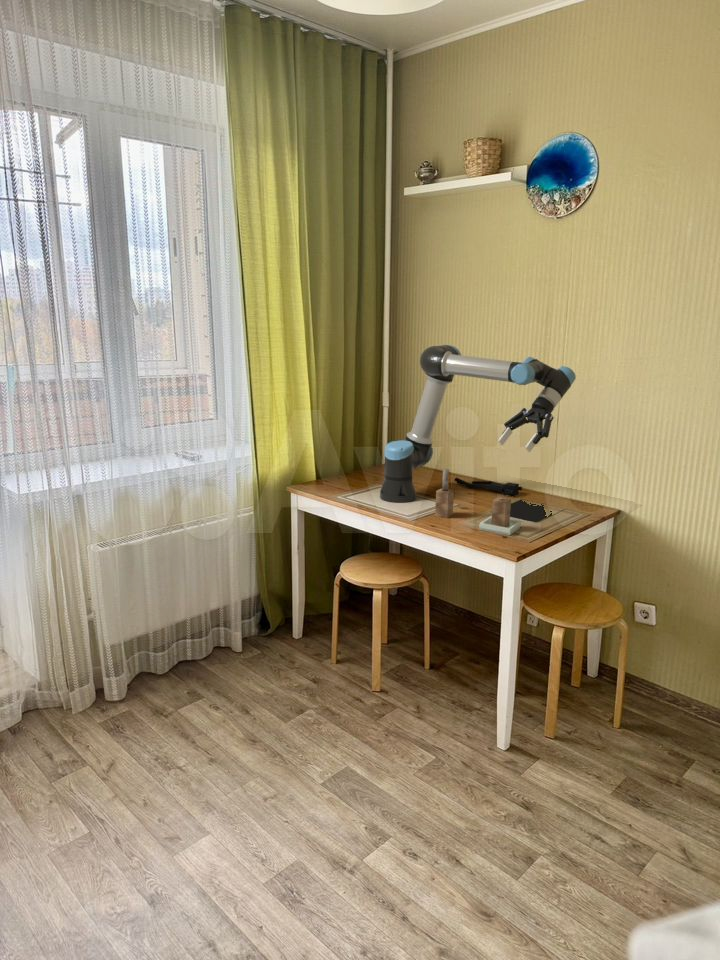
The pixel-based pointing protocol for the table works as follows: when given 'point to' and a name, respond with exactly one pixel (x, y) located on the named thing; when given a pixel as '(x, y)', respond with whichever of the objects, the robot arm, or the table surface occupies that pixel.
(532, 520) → the tablet
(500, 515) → the block
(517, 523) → the tray
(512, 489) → the toy
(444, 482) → the block
